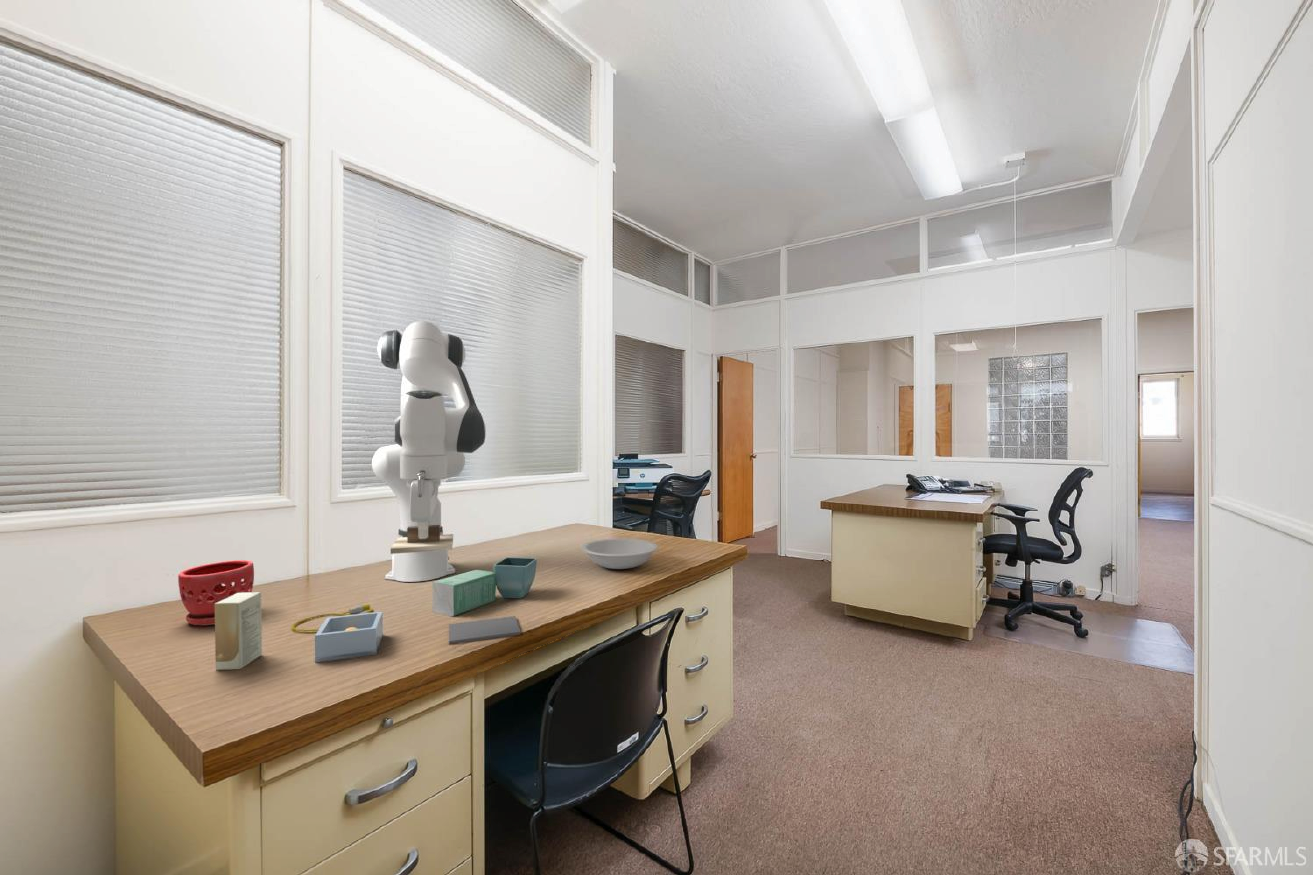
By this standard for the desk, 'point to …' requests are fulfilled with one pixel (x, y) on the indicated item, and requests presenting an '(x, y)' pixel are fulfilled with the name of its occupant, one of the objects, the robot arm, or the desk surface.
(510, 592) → the flower pot
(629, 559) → the soup bowl
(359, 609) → the extension cord
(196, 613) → the plant pot
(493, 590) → the box
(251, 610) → the skincare box
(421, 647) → the desk surface
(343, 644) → the blue storage bin
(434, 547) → the birch lid
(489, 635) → the rubber mat
